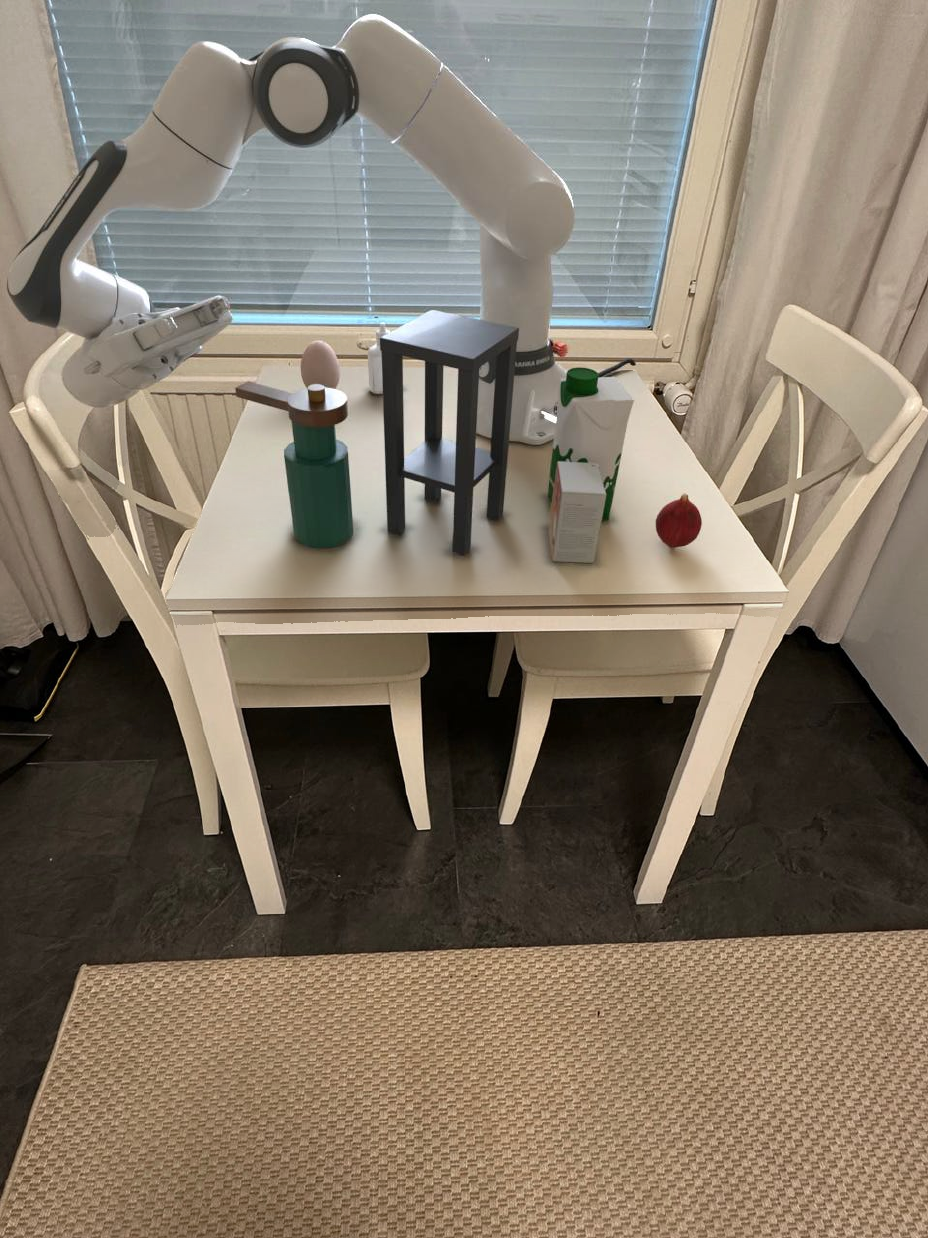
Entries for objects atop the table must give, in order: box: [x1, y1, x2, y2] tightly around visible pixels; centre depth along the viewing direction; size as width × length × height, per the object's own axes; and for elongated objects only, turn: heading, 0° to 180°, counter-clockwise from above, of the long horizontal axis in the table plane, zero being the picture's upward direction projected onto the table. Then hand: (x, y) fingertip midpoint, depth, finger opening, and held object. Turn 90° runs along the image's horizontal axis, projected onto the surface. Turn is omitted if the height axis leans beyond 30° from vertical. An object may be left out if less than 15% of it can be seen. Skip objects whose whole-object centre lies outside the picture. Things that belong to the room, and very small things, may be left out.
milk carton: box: [547, 367, 635, 521], centre depth 102 cm, size 9×9×20 cm
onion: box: [655, 492, 703, 549], centre depth 99 cm, size 6×6×8 cm
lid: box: [234, 380, 349, 428], centre depth 91 cm, size 15×7×3 cm, turn 62°
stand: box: [380, 309, 519, 557], centre depth 96 cm, size 12×12×26 cm
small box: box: [547, 461, 606, 564], centre depth 98 cm, size 8×6×10 cm
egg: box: [300, 340, 341, 390], centre depth 132 cm, size 7×7×10 cm
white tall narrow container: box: [367, 322, 391, 395], centre depth 135 cm, size 4×6×12 cm
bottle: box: [283, 420, 354, 549], centre depth 96 cm, size 8×8×17 cm
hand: (198, 313), depth 93 cm, fingers open, 8 cm apart
